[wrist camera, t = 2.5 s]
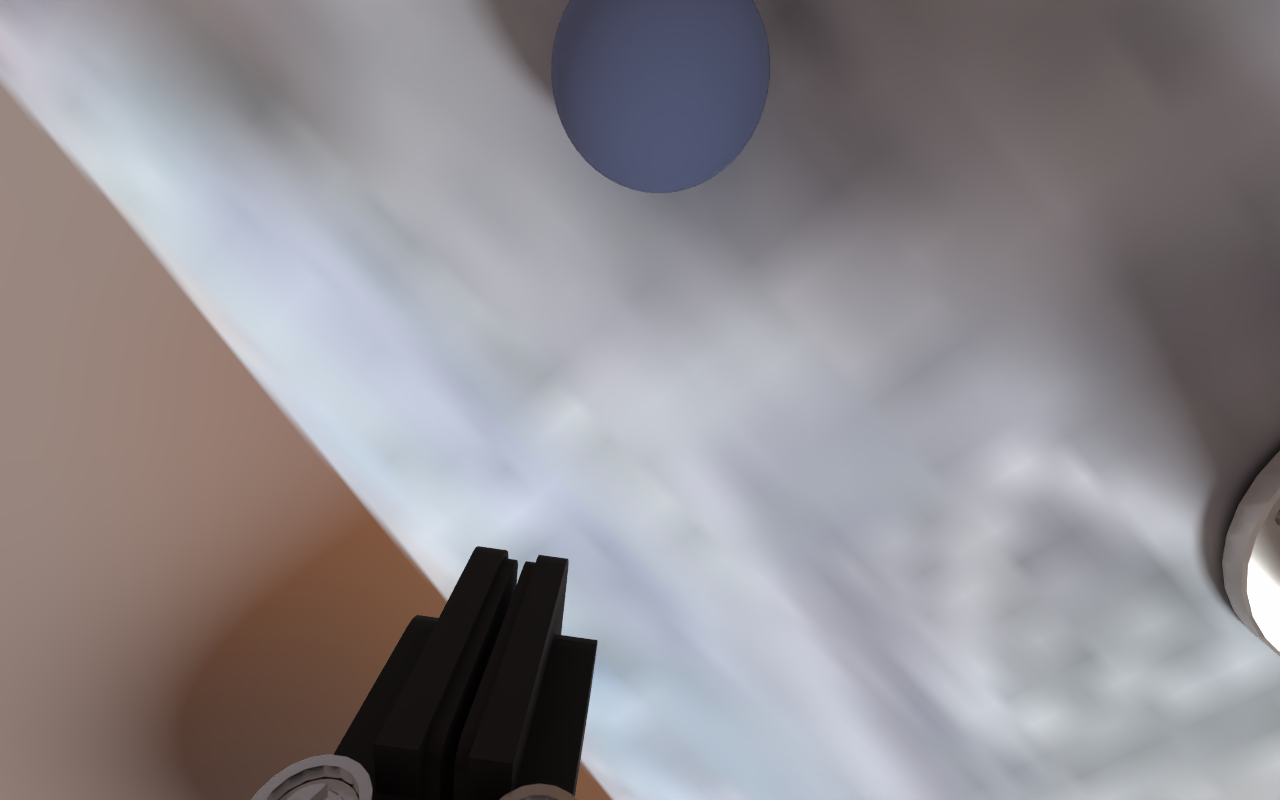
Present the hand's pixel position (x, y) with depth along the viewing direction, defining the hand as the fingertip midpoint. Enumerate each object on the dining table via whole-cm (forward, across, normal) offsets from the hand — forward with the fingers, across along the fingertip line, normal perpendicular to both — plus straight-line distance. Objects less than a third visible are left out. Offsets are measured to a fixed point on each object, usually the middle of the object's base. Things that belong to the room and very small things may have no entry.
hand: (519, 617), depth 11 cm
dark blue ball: (+9, -1, -10) cm, 13 cm away
